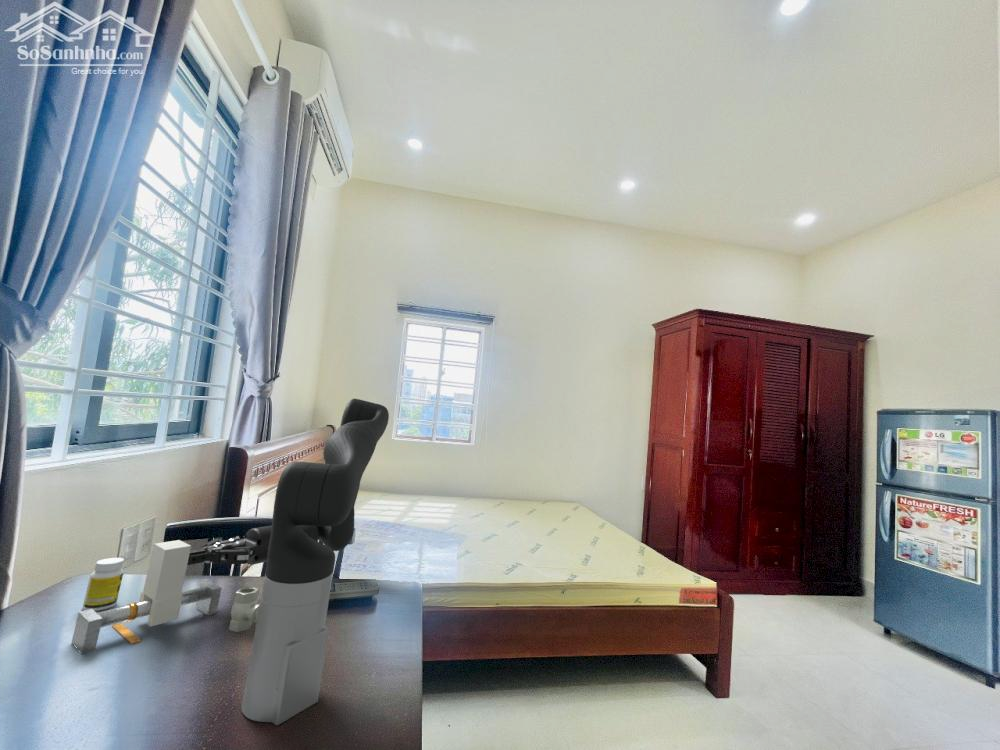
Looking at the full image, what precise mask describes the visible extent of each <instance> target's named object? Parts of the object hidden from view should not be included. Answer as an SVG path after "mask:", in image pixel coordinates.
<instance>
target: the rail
mask: <svg viewBox="0 0 1000 750" xmlns="http://www.w3.org/2000/svg"><path fill="white" fill-rule="evenodd" d="M221 594H222V587H221V586H219V585H218V584H216V583H214V582H212V581H210V580H208V581H203V582H200V584H199V587H197V588H192V589H189V590H184V591H182V592H181V595H183V597H182V602H181V606H180V607H182V606H186V605H190V604H194V603H196V604H195V609H197V610H198V611H199V612H201V613H203V614H204V615H206V616H211V615H214V614H217V612H218V608H219V602H220V597H221ZM152 601H153V600H148V601H143V602H139V601H138V602H131V603H128V604H126V605H124V606H120V607H116V608H112V609H107V610H102V611H98V612H97V611H94V610H93V609H89V610H80V611H78V615H77V617H76V623H75V626H74V629H73V635H72V638H71V642H72V643H73V644H74V645H75V646H76V647H77V649H78V650H79V651H80V652H81V653H80V652H79V651H78V650H77V649H76V650H77V651H78V652H79V653H80V654H81V655H82V654H83V655H84V654H86V653H89V652H92V651H95V650H96V647H97V644H98V640H99V635H100V631H101V628H106V627H109V626H111V627H112V628H113V629H114V630H115V631H116V632H117V633H118V634H119V635H121V636H122V637H123V638H124V639H125V640H126V641H127V642H128V643H129V644H130V645H134V644H136V643H137V644H138V643H141V642H142V640H141V639H140V638H139V637H138V636H137V635H136V634H134V633H133V631H131V630H130V629H129V628H127V627H126V626H125V625H124V623H123V622H125V623H127V622H131V621H134V620H136V619H138V618H139V619H140V618H143V617H145V616H146V615H147V616H149V614H150V610H151V605H152ZM142 616H143V617H142ZM72 643H71V644H72ZM73 644H72V645H73ZM74 645H73V646H74ZM75 646H74V647H75ZM76 647H75V648H76Z"/></svg>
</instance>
